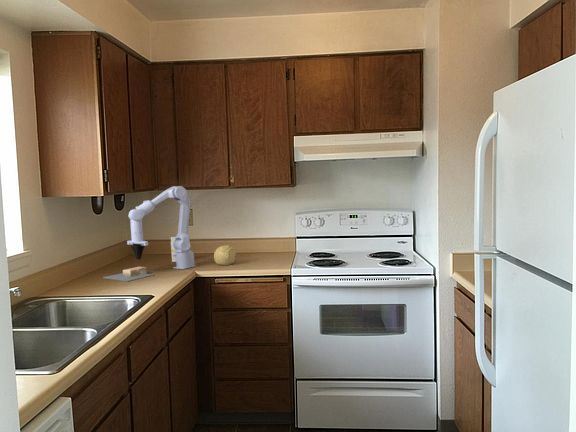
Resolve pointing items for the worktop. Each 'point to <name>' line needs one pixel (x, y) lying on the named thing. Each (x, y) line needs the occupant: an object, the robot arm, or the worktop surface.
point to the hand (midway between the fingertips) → (138, 259)
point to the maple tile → (134, 271)
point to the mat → (126, 278)
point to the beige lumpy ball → (225, 255)
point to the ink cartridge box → (173, 249)
